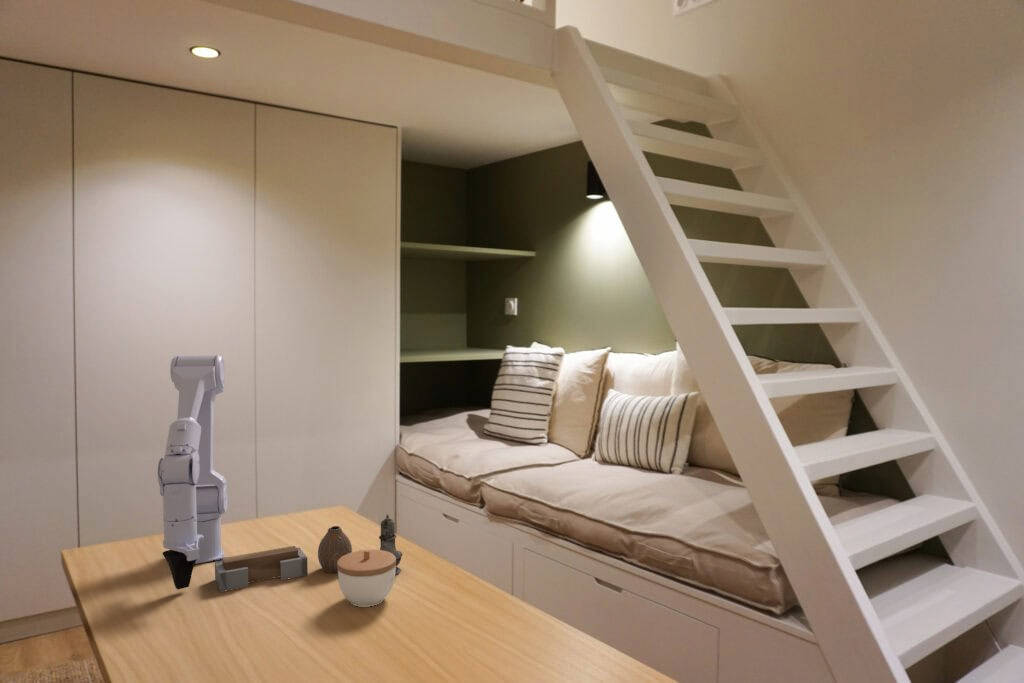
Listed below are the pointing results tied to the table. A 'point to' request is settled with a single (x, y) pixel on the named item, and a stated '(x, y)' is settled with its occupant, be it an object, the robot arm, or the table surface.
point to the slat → (261, 562)
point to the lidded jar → (366, 576)
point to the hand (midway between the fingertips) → (182, 587)
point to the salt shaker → (389, 540)
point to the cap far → (294, 566)
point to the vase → (333, 548)
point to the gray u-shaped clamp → (230, 577)
